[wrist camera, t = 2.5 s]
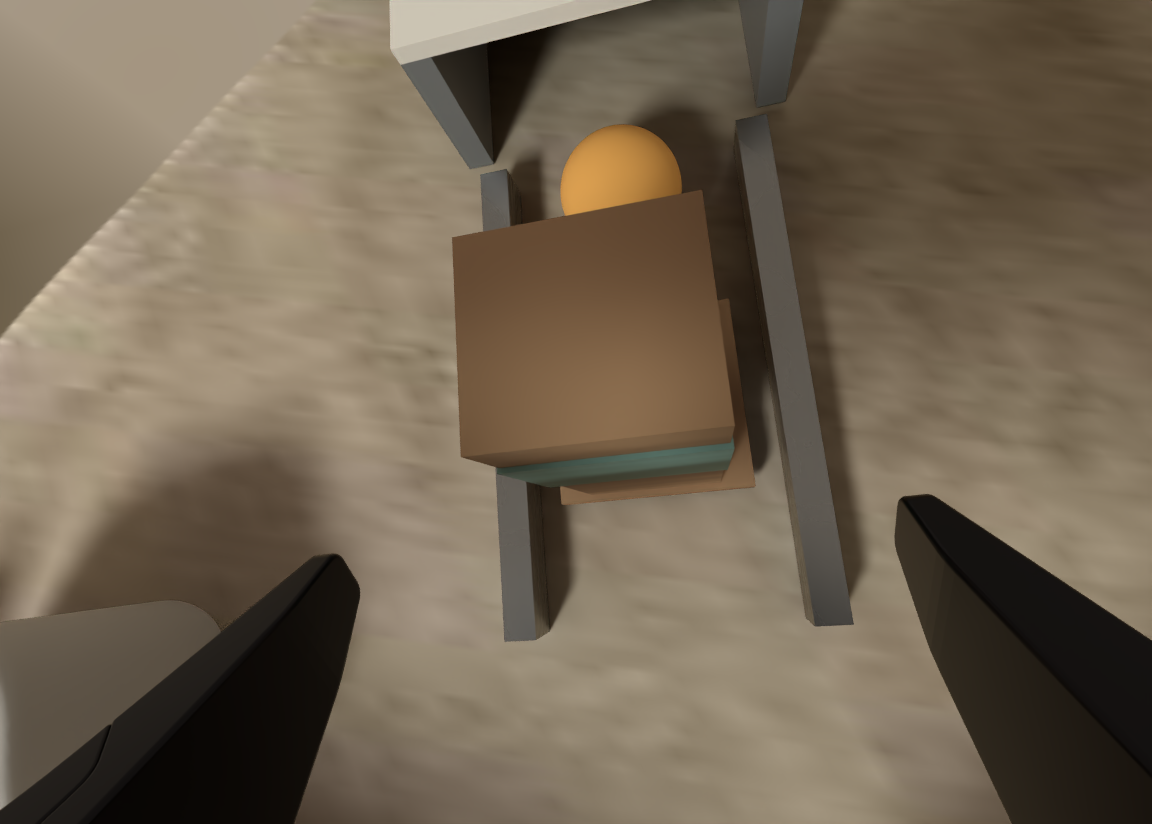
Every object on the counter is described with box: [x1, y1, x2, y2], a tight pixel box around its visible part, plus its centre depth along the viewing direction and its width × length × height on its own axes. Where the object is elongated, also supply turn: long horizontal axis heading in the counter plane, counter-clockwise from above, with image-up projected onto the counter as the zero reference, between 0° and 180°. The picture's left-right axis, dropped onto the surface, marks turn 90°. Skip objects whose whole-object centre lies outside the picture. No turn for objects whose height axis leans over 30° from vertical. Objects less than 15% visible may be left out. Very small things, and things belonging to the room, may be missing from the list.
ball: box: [561, 124, 682, 216], centre depth 20 cm, size 4×4×4 cm
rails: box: [480, 114, 854, 642], centre depth 20 cm, size 16×10×2 cm, turn 4°
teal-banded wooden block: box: [452, 190, 756, 505], centre depth 14 cm, size 8×6×11 cm
